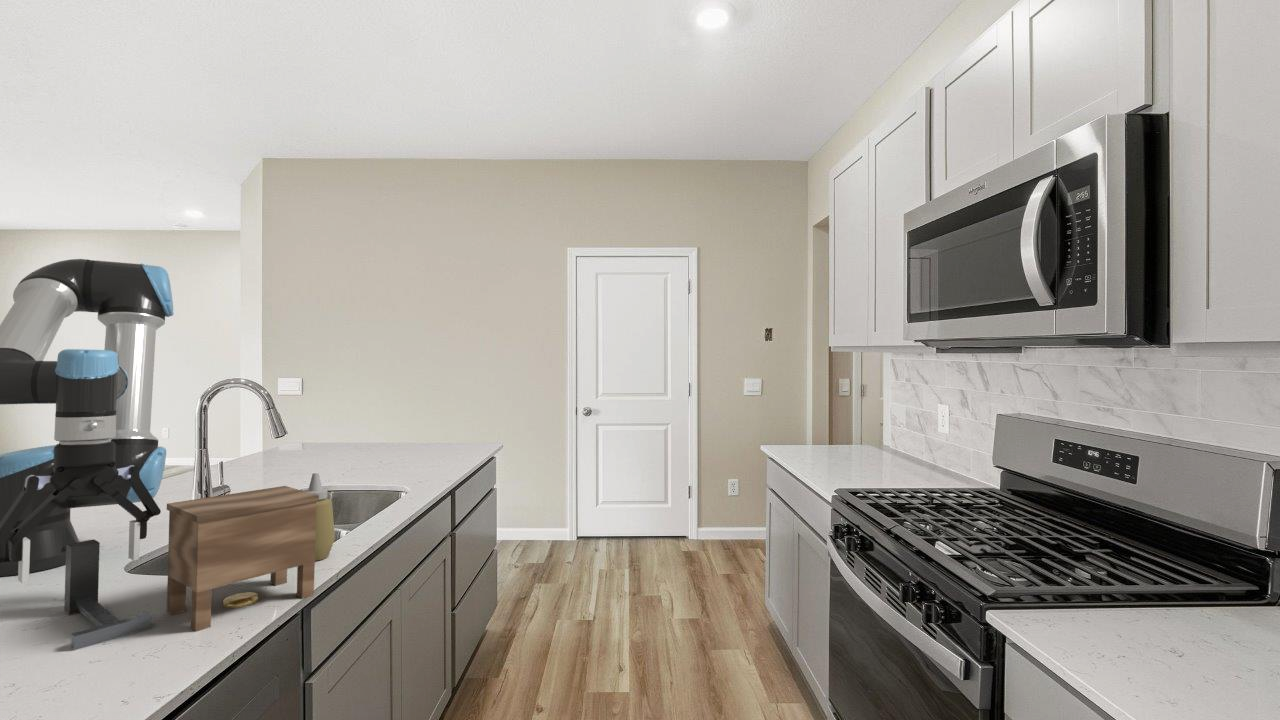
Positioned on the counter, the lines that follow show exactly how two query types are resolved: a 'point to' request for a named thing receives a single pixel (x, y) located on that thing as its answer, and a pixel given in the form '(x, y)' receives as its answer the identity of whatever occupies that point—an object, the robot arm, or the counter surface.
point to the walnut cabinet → (238, 544)
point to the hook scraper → (93, 598)
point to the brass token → (240, 600)
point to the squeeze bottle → (322, 519)
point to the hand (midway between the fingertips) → (81, 569)
